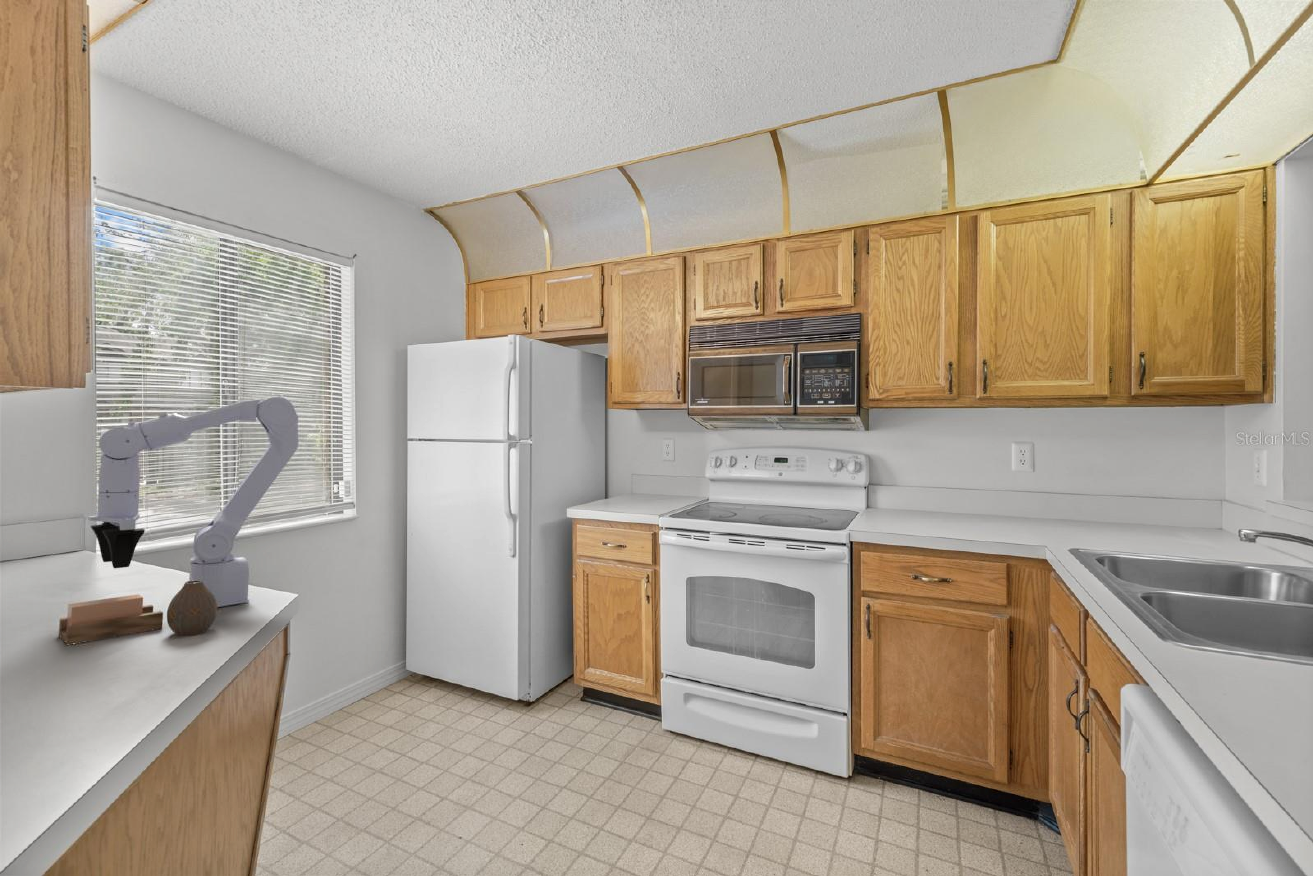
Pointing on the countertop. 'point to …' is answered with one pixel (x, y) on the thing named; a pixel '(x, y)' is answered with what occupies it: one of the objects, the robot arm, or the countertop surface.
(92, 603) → the clay strip
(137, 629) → the rack
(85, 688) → the countertop surface
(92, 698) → the countertop surface
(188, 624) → the vase
